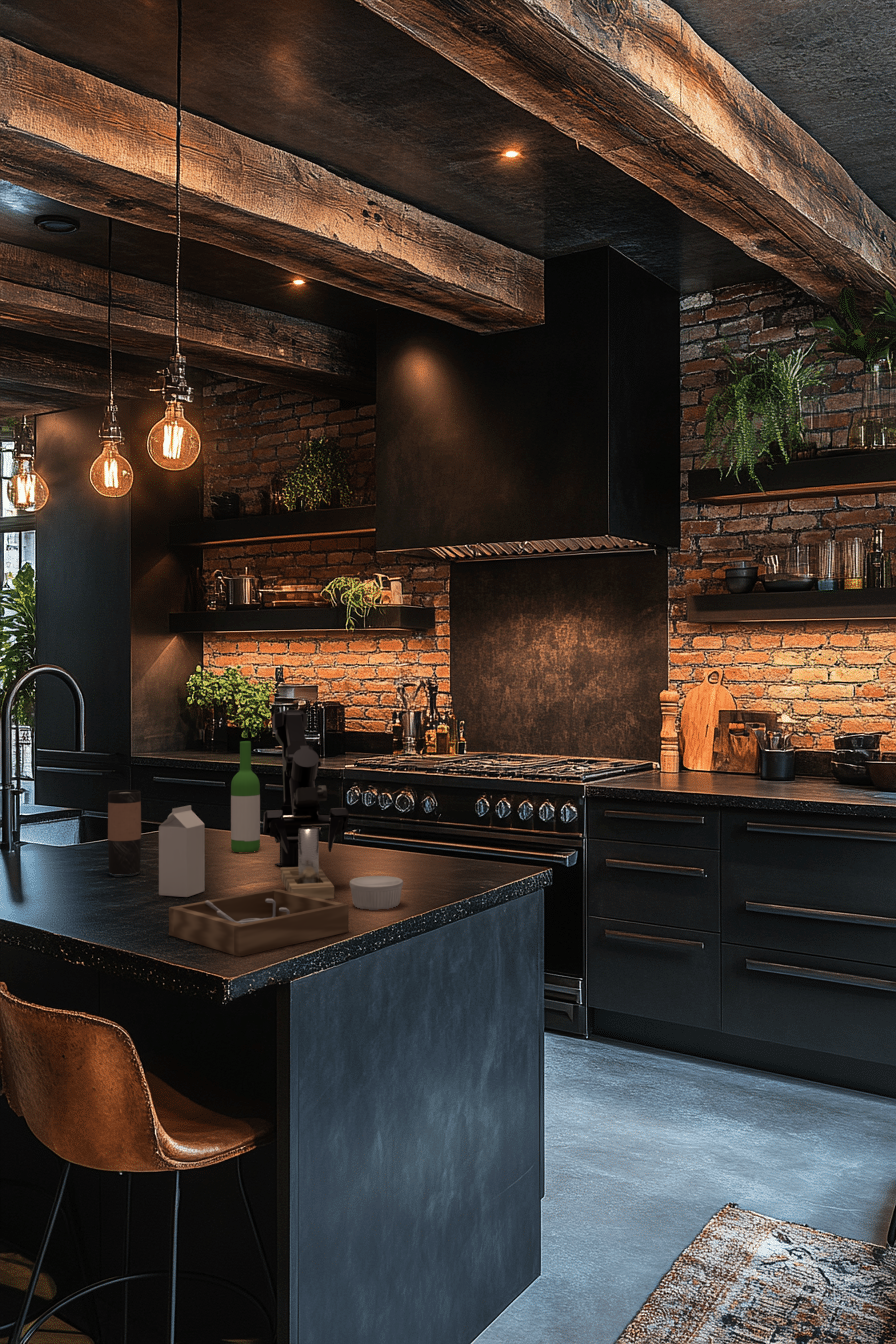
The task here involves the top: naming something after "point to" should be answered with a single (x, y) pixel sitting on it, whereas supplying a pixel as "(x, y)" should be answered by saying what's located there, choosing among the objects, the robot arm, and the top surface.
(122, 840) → the travel mug
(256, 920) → the wall mount rack
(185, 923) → the tray
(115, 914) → the top surface
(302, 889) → the wooden slotted holder
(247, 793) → the wine bottle
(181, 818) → the milk carton
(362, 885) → the ramekin
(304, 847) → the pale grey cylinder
